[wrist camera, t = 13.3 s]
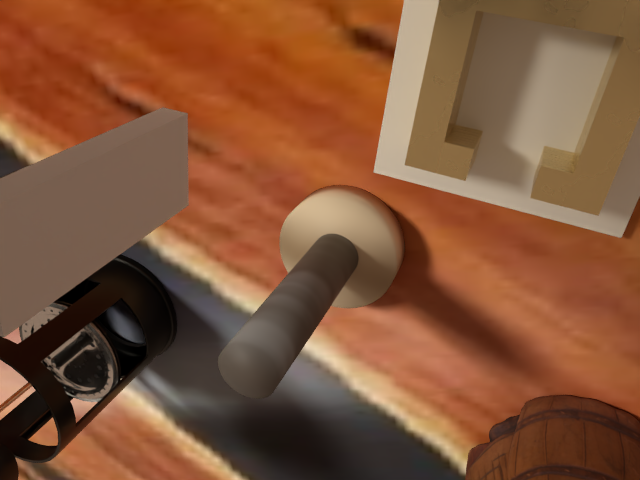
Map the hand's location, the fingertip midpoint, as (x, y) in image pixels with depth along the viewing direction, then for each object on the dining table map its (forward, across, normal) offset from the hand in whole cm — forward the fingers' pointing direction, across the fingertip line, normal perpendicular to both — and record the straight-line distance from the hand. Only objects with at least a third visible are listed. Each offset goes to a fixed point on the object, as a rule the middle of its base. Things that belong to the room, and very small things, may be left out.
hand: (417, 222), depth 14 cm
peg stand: (+17, -6, -11) cm, 21 cm away
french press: (+17, -23, -23) cm, 37 cm away
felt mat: (+17, +2, 0) cm, 17 cm away
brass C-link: (+17, +2, 0) cm, 17 cm away
